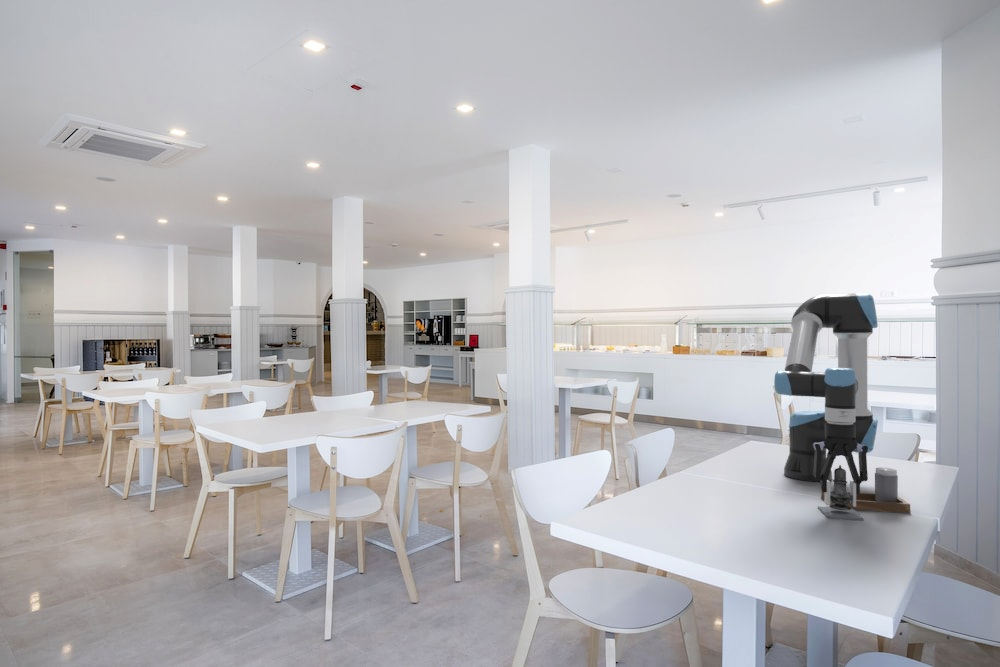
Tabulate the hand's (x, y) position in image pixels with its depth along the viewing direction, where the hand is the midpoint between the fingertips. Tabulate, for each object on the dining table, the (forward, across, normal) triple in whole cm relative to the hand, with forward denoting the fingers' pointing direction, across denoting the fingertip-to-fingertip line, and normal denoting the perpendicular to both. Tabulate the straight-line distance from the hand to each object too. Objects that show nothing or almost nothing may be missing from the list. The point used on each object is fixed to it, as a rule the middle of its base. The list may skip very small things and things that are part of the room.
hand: (840, 504), depth 163 cm
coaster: (+3, 0, 0) cm, 3 cm away
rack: (+3, +9, +11) cm, 14 cm away
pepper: (+3, +16, +11) cm, 19 cm away
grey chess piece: (+1, 0, 0) cm, 1 cm away
